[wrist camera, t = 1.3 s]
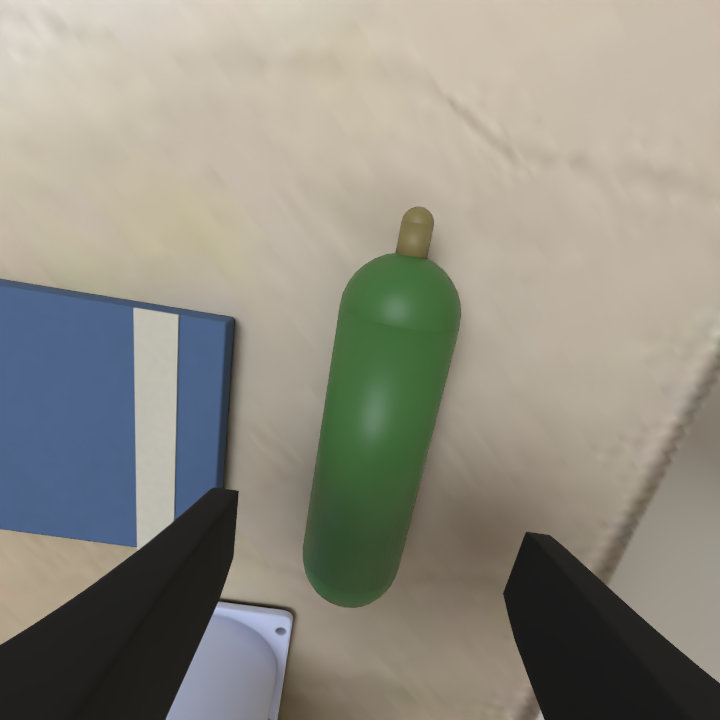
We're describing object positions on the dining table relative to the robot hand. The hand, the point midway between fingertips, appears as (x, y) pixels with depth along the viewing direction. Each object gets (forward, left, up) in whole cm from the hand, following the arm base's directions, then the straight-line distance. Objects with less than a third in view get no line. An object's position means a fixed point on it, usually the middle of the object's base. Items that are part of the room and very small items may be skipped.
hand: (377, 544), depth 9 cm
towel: (-2, +16, -7) cm, 18 cm away
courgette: (0, 0, -7) cm, 7 cm away
